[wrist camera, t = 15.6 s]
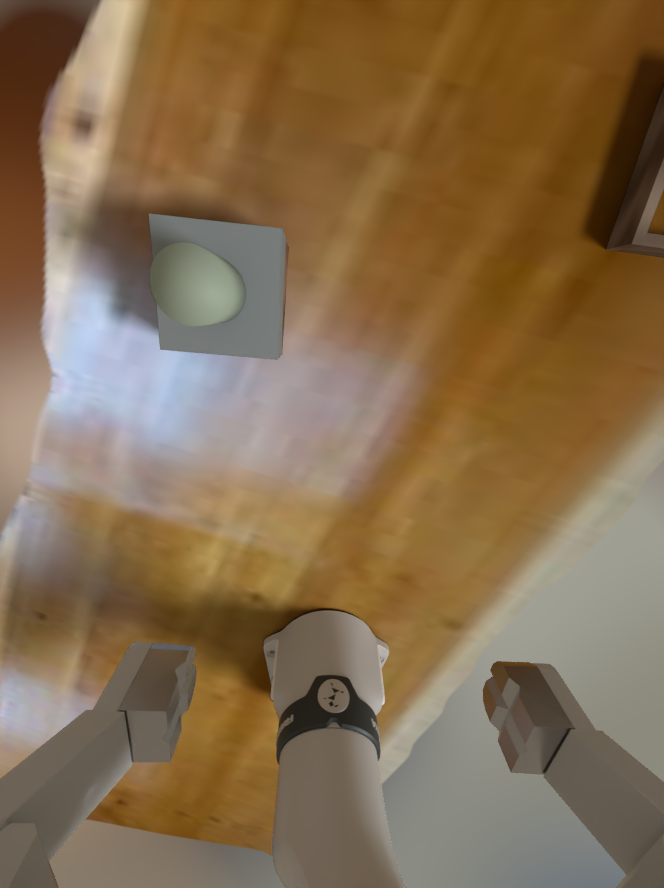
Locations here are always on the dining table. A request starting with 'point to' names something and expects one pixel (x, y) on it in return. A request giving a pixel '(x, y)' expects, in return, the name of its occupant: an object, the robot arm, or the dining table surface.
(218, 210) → the dining table surface
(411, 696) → the dining table surface
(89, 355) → the dining table surface
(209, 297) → the sage green rounded oval
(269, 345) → the grey slab
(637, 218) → the wooden frame
